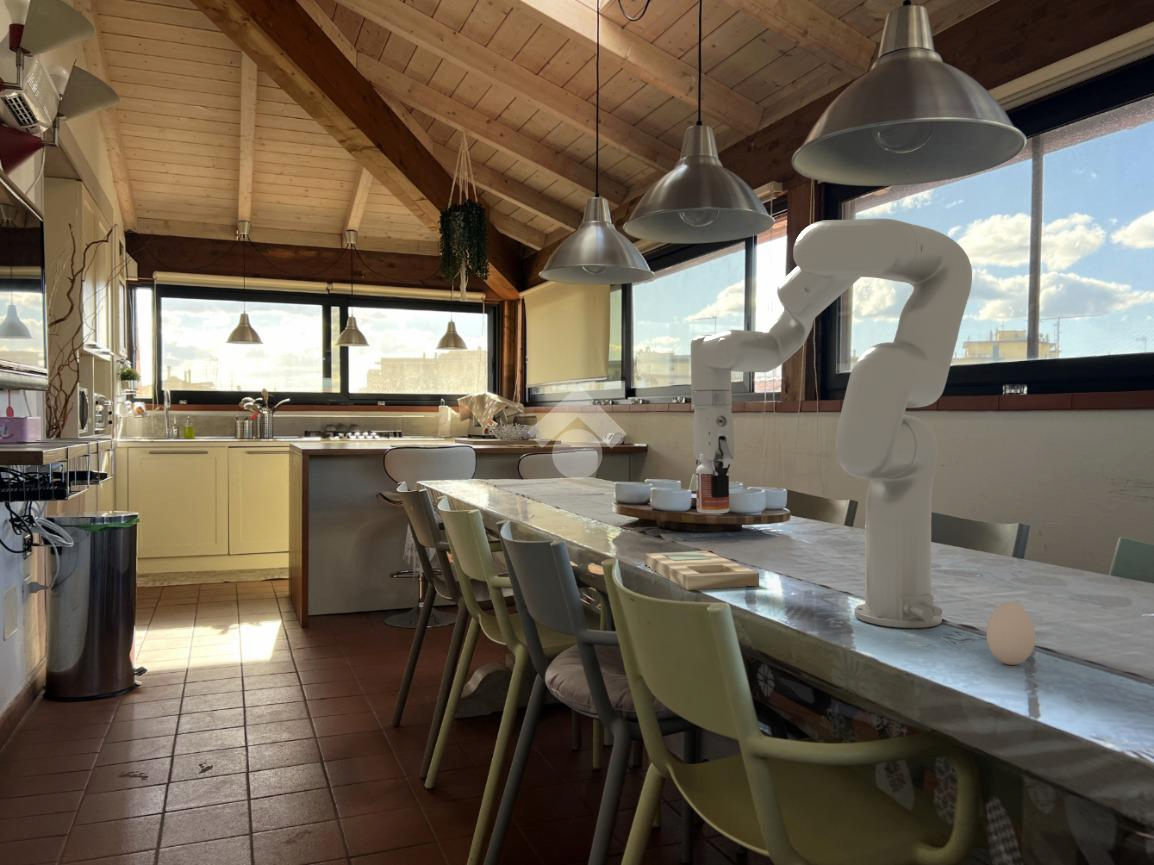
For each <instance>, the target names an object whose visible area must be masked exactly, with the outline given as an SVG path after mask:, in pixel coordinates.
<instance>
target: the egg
mask: <svg viewBox="0 0 1154 865" xmlns="http://www.w3.org/2000/svg"><path fill="white" fill-rule="evenodd" d="M1035 632H1036V631H1035V626H1034V624H1033V621H1032V619H1031V616H1030V615H1029V614H1028V612H1027V610H1026V609H1025V608H1023V607H1022V606H1021V605H1019V603H1017V602H1014V601H1005V602H1003V603H1000V604H999V605H998V606H996V608H995V609H994V610H993V611H992V613H991V614H990V616H989V618H988V620H987V625H986V642H987V645H988V647H989V649H990V652H991V653H992V655H994V657H995V658H996V659H997V660H999V661H1000V662H1001V663H1003V664H1004V665H1005V664H1006V665H1009V666H1010V665H1011V666H1016V665H1019V664H1022V663H1024V662H1025V661H1026V660H1027V659H1028V658H1029V657H1030V656H1031V654H1032V653H1033V651H1034V649H1035V644H1036V633H1035Z"/></svg>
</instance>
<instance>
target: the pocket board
mask: <svg viewBox="0 0 1154 865" xmlns="http://www.w3.org/2000/svg"><path fill="white" fill-rule="evenodd" d="M643 559H644V561H643V562H644V566H645V565H647V566H648V567H650V568H651V569H650V568H649V569H650V570H652V569H653V570H652V571H653V572H655V571H656V572H655V573H657V574H659V575H660V574H661V576H662V575H663V577H664V578H666V579H668V580H669V581H671V582H672V583H674V584H676V585H678V586H680V587H681V588H683V589H685V590H686V591H699V590H698V589H701V590H711V589H710V588H720V589H725V588H724V587H739V588H747V587H746V586H757V587H759V586H760V573H759V572H758V571H756V570H754V569H751V568H748V567H746V566H743V565H741V564H739V563H736V562H734V561H732V560H729V559H727V558H725V557H722V556H720V555H717V554H715V553H713V552H710V551H708V550H697V551H696V550H694V551H676V552H675V551H673V552H672V551H671V552H669V551H668V552H651V553H644V558H643ZM647 566H646V567H647ZM648 567H647V568H648ZM744 586H745V587H744Z"/></svg>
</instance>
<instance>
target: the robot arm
mask: <svg viewBox="0 0 1154 865" xmlns="http://www.w3.org/2000/svg"><path fill="white" fill-rule="evenodd" d="M792 253H793V254H792V255H793V261H794V263H795V264H796V267H795V268H793V270H791V271H790V273H788V274H787V275H786V276H785V277H784V278H783V279H782V280H781V281H780V282H779V283H778V285H777V287H776V288H777V291H776V292H777V293H776V294H777V297H778V300H779V302H780V303H781V305H782V306H783V308H784V310H783V312H782V313H781V315H780V316H779V317H778V318H777V319H776V320H775V321H774V322H773V323H772V324H771V325H769V326H768V328H766V329H765V330H764V331H754V330H745V329H728V330H724V331H721V332H718V333H715V334H704V335H703V334H702V335H698V336H695V337H693V338H692V340H691V342H690V379H691V380H690V388H691V389H690V390H691V393H690V394H691V396H690V397H691V400H690V402H691V410H694V413H693V427H692V428H693V430H692V431H693V432H692V438H693V439H692V446H693V449H692V450H693V457H694V458H695V465H696V466H697V467H698V466H700V465H701V461H700V454H703V455H704V457H705V459H706V460H708V461H711V465H712V471H713V475H714V476H711V496H712V497H714V498H719V497H728V496H729V497H730V481H729V482H728V476H729V477H730V466H731V464H730V463H731V461H733V460H734V459H735V457H736V444H735V431H734V430H735V429H734V420H733V419H734V418H733V413H732V372H738V373H745V372H746V373H747V372H748V373H768V372H770V371H773V370H774V369H777V368H779V367H780V366H781V365H783V364H784V363H785V362H786V361H788V360H789V358H791V357H792V356H793V355H794V354H795V353H797V352H798V351H799V349H801V348H802V346H804V344H805V343H806V341H807V339H808V338H809V336H810V335H809V334H810V333H811V330H812V328H813V325H814V320H815V319H816V318H817V317H818V316H819V315H820V314H821V313H822V312H823V311H824V310H826V309H827V307H828V308H829V306H830V305H831V304H832V303H834V302H835V300H837V299H838V298H839V297H840V296H841V295H842V294H843V293H845V292H846V291H847V290H848V289H849V288H850V287H851V286H853V285H854V283H856V282H857V281H858V280H859V279H860V278H872V279H880V280H881V279H883V280H888V281H894V282H898V283H899V282H900V283H906V284H909V285H910V286H912V287H913V290H912V293H911V295H910V296H909V297H908V299H907V301H906V303H905V304H904V306H903V309H902V310H901V313H900V315H899V320H898V324H897V330H896V333H895V334H894V335H895V336H894V340H893V341H891V342H882V343H876V344H874V345H872V346H870V347H868V348H867V349H866V350H864V351H863V352H862V353H861V354H860V356H859V357H858V358H857V360H856V362H855V363H854V365H853V367H852V369H851V371H850V374H849V379H848V381H847V386H846V390H845V395H844V398H843V403H842V408H841V412H840V415H839V420H838V424H837V429H836V433H835V439H834V440H835V441H834V442H835V443H834V444H835V445H834V447H835V448H834V449H835V455H836V459H837V462H838V463H839V465H840V467H841V468H842V470H843V471H845V473H847V474H848V475H850V476H852V477H854V478H858V479H864V480H870V481H869V483H868V486H867V493H866V497H865V512H864V513H865V518H864V520H865V521H864V522H865V523H864V538H865V539H864V542H865V543H864V546H865V547H864V550H865V552H864V553H865V554H864V555H865V556H864V558H865V559H864V563H865V564H864V565H865V566H864V578H865V579H864V580H865V583H864V586H865V587H864V592H865V593H864V594H865V595H864V597H865V599H864V600H865V601H864V603H862V604H859V605H857V606H855V608H854V616H855V617H856V618H857V619H858V620H860V621H863V622H865V623H869V624H872V625H879V626H884V627H890V628H899V629H901V628H904V629H923V628H931V627H936V626H938V625H940V624H942V622H943V618H942V617H943V609H942V608H941V607H939V606H936V605H934V599H935V598H934V596H935V595H934V594H932V503H933V502H932V498H933V487H934V486H933V484H934V477H935V471H936V467H937V460H938V441H937V437H936V435H935V433H934V431H933V429H932V428H931V427H930V426H929V425H928V424H927V422H925V421H923V420H922V419H920V418H918V417H915V416H913V415H909V414H905V413H906V408H907V409H908V408H910V409H911V408H915V409H916V408H922V407H923V408H924V407H927V406H930V405H932V404H934V403H936V402H937V401H938V400H939V399H940V397H941V396H942V394H943V393H944V390H945V387H946V383H947V380H948V377H949V372H950V368H951V366H952V364H951V363H952V360H953V356H954V353H955V350H956V345H957V341H958V339H959V338H958V337H959V333H960V329H961V325H962V321H963V317H964V315H965V310H966V307H967V304H968V301H969V297H970V293H971V289H972V283H973V268H972V264H971V261H970V259H969V257H968V255H967V253H966V251H965V250H964V248H963V247H962V246H961V245H960V244H959V243H958V242H956V241H955V240H954V239H953V238H950V237H949V236H948V235H946V234H944V233H942V232H940V231H937V230H935V229H932V228H929V227H926V226H921V225H919V224H918V225H917V224H913V223H912V224H911V223H909V222H905V221H901V220H898V219H892V218H891V219H890V218H861V219H859V218H858V219H831V220H830V219H826V220H825V219H824V220H820V221H816V222H813V223H811V224H810V225H808V226H807V227H805V228H804V229H803V230H801V232H800V234H799V235H798V236H797V238H796V240H795V241H794V244H793V251H792ZM715 457H722V458H720V459H715ZM717 464H718V467H717ZM697 467H696V468H697Z"/></svg>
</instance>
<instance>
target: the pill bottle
mask: <svg viewBox="0 0 1154 865" xmlns="http://www.w3.org/2000/svg"><path fill="white" fill-rule="evenodd" d="M720 458H722V457H715V459H720ZM700 461H701V465H700V466H698V467H696V470H695V484H696V486H695V487H696V495H695V496H696V497H695V498H696V511H697V512H698V513H701V514H724V513H729V512H730V495H729V496H728V497H719V498H714V497H712V496H711V476H714V475H713V471H712V465H711V461H708V460H706V459H705V457H704V455H703V454H700ZM717 467H718V464H717ZM728 482H729V483H730V475H729V476H728Z"/></svg>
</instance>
